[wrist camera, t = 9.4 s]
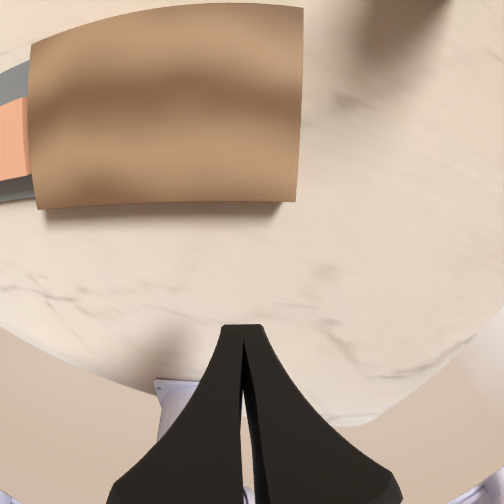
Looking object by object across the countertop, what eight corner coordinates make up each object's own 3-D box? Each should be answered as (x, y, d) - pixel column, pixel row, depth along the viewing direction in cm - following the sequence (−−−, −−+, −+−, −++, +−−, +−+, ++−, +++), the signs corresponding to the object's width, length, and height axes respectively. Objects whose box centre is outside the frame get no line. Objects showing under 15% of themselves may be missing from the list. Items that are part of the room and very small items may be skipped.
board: (288, 192, 17) (295, 202, 15) (52, 200, 16) (37, 210, 14) (295, 18, 12) (303, 7, 10) (47, 48, 11) (31, 44, 9)
